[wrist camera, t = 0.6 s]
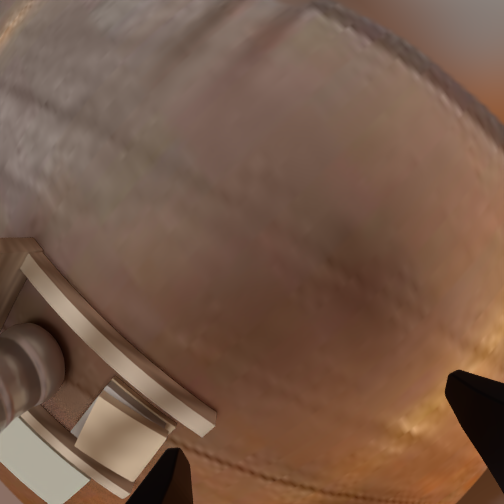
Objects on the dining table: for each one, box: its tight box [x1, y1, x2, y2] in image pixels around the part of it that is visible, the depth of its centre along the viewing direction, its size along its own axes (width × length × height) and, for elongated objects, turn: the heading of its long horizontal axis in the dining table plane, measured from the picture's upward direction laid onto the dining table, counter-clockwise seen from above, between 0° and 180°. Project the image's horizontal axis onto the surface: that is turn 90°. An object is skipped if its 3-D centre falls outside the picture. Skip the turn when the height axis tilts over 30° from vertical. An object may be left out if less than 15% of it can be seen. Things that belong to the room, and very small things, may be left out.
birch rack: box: [0, 238, 217, 499], centre depth 16 cm, size 21×15×12 cm
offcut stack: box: [71, 376, 177, 482], centre depth 21 cm, size 7×8×3 cm
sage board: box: [0, 416, 91, 504], centre depth 21 cm, size 12×12×1 cm
